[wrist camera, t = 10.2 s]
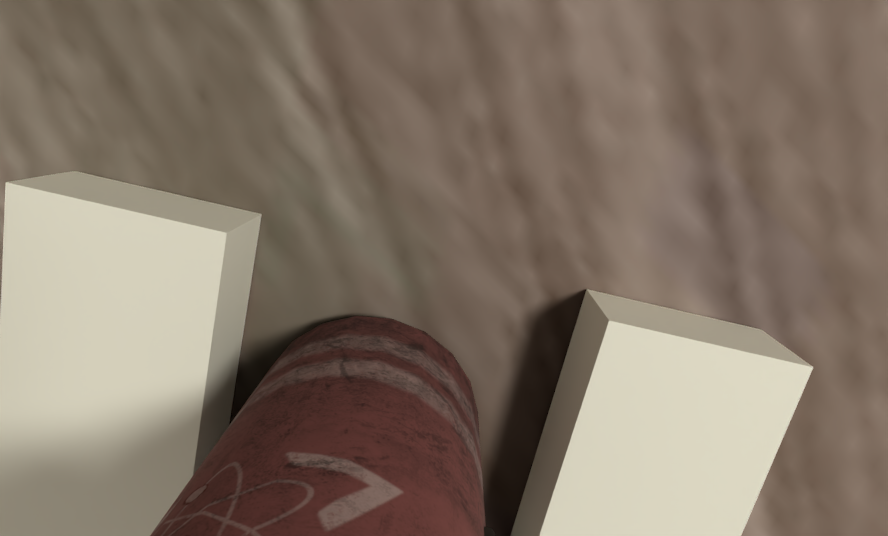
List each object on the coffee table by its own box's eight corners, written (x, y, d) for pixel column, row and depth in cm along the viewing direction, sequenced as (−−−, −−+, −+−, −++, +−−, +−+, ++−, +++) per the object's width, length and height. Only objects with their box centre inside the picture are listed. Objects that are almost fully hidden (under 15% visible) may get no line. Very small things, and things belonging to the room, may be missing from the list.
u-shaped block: (74, 170, 16) (5, 182, 13) (760, 329, 16) (813, 367, 14) (43, 619, 20) (-15, 691, 17) (601, 731, 20) (621, 815, 18)
